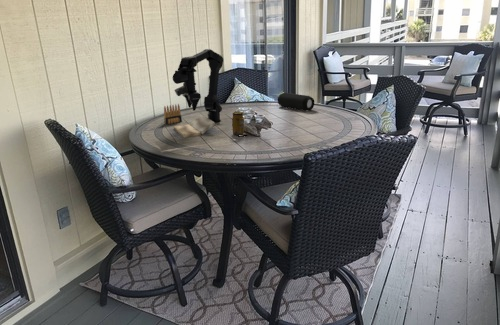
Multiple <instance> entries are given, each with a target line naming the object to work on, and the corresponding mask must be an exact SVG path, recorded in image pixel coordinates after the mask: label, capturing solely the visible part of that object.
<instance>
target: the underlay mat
mask: <svg viewBox="0 0 500 325" xmlns="http://www.w3.org/2000/svg"><path fill="white" fill-rule="evenodd" d="M167 130H168V131H169V132H170V133H171V134H173V135H174V136H175V137H176V138H178V139H179V140H181V139H189V138H195V137H202V136H209V135H214V134H221V132H220V131H219V130H217V129H215V128H213V126H212V127H211V128H210V129H209V130H207V131H206V132H205V133H203V134H201V135H198V136H191V137H185V138H184V137H183V136H182V135H180V134H179V133H178V132H177V131H175V130H174V128H170V129H169V128H168V129H167Z"/></svg>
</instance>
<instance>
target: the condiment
mask: <svg viewBox="0 0 500 325" xmlns="http://www.w3.org/2000/svg"><path fill="white" fill-rule="evenodd" d="M243 114H244V113H243V112H241V111H233V113H232V119H231V120H232V121H231V123H232V125H231V126H232V132H231V134H232V135H234V136H235V137H237V136H239V135H243V134H245V128H244V127H245V124H244V123H245V122H244V116H243Z"/></svg>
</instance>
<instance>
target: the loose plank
mask: <svg viewBox="0 0 500 325" xmlns="http://www.w3.org/2000/svg"><path fill="white" fill-rule="evenodd" d="M188 125H190V126H192V127H193V128H195V129H196V130H198V131H199V132H200V133H201V134H203V133H205V132H206V131H207V130H209V129H210V128H211V127H212V128H213V127H214V126H215V125H216V122H213V121H212V120H210V119H208V117H206V116H204V115H203V114H201V115H199V116H198V117H197V118H195V119H194V120H193V121H192V122H190V123H189V124H188Z"/></svg>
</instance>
